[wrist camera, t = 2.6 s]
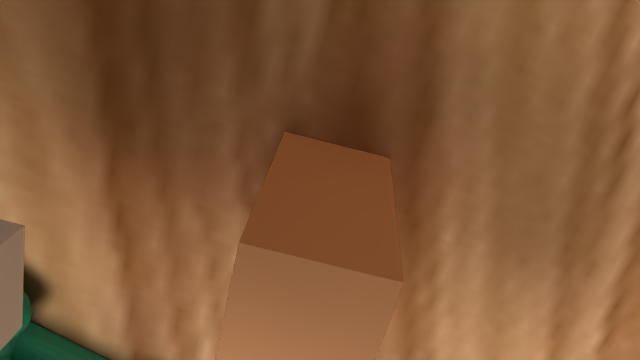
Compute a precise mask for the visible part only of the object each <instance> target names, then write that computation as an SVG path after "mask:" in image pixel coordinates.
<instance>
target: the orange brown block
mask: <svg viewBox="0 0 640 360" xmlns="http://www.w3.org/2000/svg"><path fill="white" fill-rule="evenodd" d="M403 283H404V281H403V272H402V263H401V254H400V245H399V236H398V226H397V217H396V208H395V199H394V190H393V181H392V172H391V162H390V158H388V157H384V156H380V155H376V154H372V153H368V152H364V151H360V150H356V149H352V148H348V147H344V146H340V145H336V144H332V143H328V142H324V141H320V140H316V139H312V138H308V137H304V136H300V135H296V134H292V133H288V132H284V134H283V137H282V139H281V141H280V144H279V146H278V149H277V151H276V154H275V156H274V158H273V161H272V163H271V166H270V168H269V171H268V173H267V175H266V178H265V180H264V183H263V185H262V188H261V190H260V192H259V195H258V197H257V200H256V202H255V205H254V207H253V210H252V212H251V214H250V217H249V219H248V222H247V224H246V227H245V229H244V231H243V234H242V236H241V239H240V241H239V245H238V249H237V254H236V259H235V264H234V269H233V274H232V279H231V284H230V289H229V293H228V298H227V303H226V308H225V313H224V318H223V323H222V328H221V333H220V337H219V342H218V347H217V352H216V357H215V360H376V357H377V355H378V352H379V349H380V346H381V344H382V341H383V338H384V335H385V333H386V330H387V327H388V325H389V322H390V319H391V316H392V314H393V311H394V308H395V305H396V303H397V300H398V297H399V294H400V292H401V289H402V286H403Z"/></svg>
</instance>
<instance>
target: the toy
mask: <svg viewBox="0 0 640 360" xmlns="http://www.w3.org/2000/svg"><path fill="white" fill-rule="evenodd" d="M32 314H33V312H32V308H31V304H30V301H29V297H28V296H27V294H26V293H25V292H24V291H23V317H22V327H21V329H20V330H19V331H18V332H17V333H16V334H15V335H14V336H13V337H12V338H11V340H10V341H9V342H8V343H7V344H6V345H5V346H4V347H3V348H2V349H1V350H0V360H108V359H106V358H103V357H101V356H99V355H97V354H95V353H93V352H91V351H89V350H87V349H85V348H83V347H81V346H79V345H77V344H75V343H73V342H71V341H69V340H67V339H65V338H63V337H61V336H59V335H57V334H55V333H53V332H51V331H49V330H46V329H44V328H42V327H40V326H38V325H36V324H34V323H32V322H30V320H31V317H32Z"/></svg>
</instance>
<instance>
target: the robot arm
mask: <svg viewBox="0 0 640 360" xmlns="http://www.w3.org/2000/svg"><path fill="white" fill-rule="evenodd" d="M24 238H25V226H24V225H20V224H16V223H12V222H8V221H4V220H0V350H1V349H2V348H3V347H4V346H5V345H6V344H7V343H8V342H9V341H10V340H11V338H12V337H13V336H14V335H15V334H16V333H17V332H18V331H19V330H20V329H21V327H22V317H23V277H24Z"/></svg>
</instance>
